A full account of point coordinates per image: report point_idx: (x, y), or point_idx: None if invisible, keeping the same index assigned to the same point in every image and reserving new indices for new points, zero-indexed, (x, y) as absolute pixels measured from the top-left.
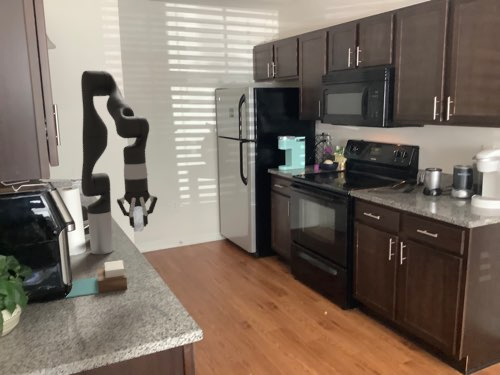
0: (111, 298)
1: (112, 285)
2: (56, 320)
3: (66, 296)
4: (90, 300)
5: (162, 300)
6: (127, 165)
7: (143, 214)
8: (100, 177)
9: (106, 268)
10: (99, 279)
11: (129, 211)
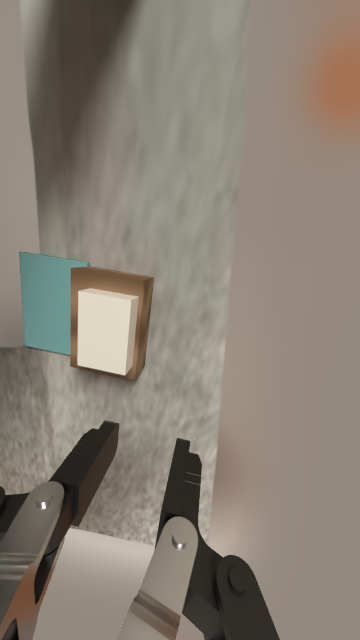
0: (108, 393)
1: None
2: (24, 422)
3: (27, 343)
4: (71, 380)
5: (194, 453)
6: None
7: (162, 530)
8: None
9: (81, 348)
10: (74, 358)
11: (12, 537)
